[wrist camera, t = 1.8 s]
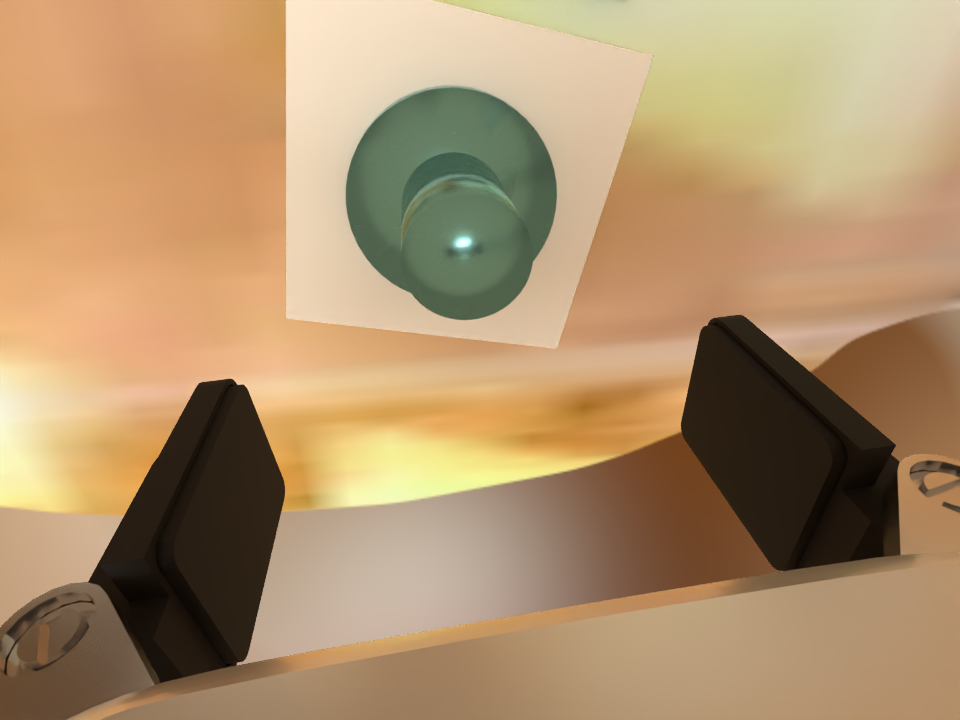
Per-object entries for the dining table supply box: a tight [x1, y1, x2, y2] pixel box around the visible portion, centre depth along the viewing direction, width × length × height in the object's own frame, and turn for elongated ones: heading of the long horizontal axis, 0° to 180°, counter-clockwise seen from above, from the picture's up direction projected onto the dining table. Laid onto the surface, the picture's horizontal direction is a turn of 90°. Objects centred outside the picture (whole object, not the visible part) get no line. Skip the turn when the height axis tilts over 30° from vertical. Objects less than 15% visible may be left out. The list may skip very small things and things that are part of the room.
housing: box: [286, 0, 654, 349], centre depth 25 cm, size 14×14×5 cm
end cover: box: [346, 85, 557, 320], centre depth 22 cm, size 9×9×12 cm
